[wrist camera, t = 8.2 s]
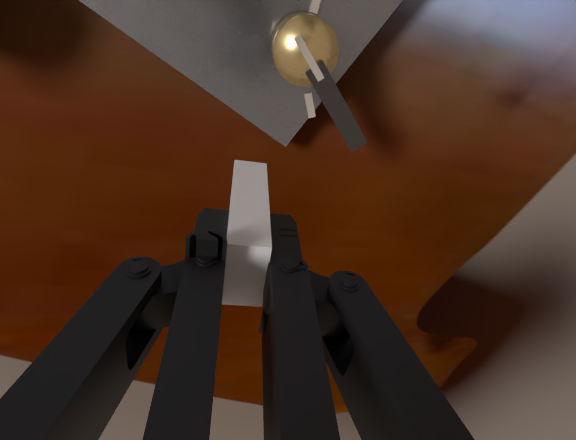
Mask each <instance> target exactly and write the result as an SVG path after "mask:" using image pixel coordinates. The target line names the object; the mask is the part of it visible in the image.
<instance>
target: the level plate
mask: <svg viewBox="0 0 576 440" xmlns="http://www.w3.org/2000/svg"><path fill="white" fill-rule="evenodd" d="M79 1H80V2H82V3H83V4H85V5H86V6H87V7H89V8H90V9H92V10H93V11H95V12H96V13H97V14H99V15H100V16H102V17H103V18H104V19H106V20H107V21H109V22H110V23H111V24H113V25H114V26H116V27H117V28H119V29H120V30H121V31H123V32H124V33H126V34H127V35H128V36H130V37H131V38H133V39H134V40H135V41H137V42H138V43H140V44H141V45H143V46H144V47H145V48H147V49H148V50H150V51H151V52H152V53H154V54H155V55H157V56H158V57H159V58H161V59H162V60H164V61H165V62H167V63H168V64H169V65H171V66H172V67H174V68H175V69H176V70H178V71H179V72H181V73H182V74H183V75H185V76H186V77H188V78H189V79H191V80H192V81H193V82H195V83H196V84H198V85H199V86H200V87H202V88H203V89H205V90H206V91H208V92H209V93H210V94H212V95H213V96H215V97H216V98H217V99H219V100H220V101H222V102H223V103H224V104H226V105H227V106H229V107H230V108H232V109H233V110H234V111H236V112H237V113H239V114H240V115H241V116H243V117H244V118H246V119H247V120H248V121H250V122H251V123H253V124H254V125H256V126H257V127H258V128H260V129H261V130H263V131H264V132H265V133H267V134H268V135H270V136H271V137H272V138H274V139H275V140H277V141H278V142H280V143H281V144H282V145H284V146H285V147H286V146H287V144H288V143H289V142H290V141H291V139H292V138H293V137H294V136H295V134H296V133H297V132H298V131H299V129H300V128H301V127H302V126H303V124H304V123H305V122H306V121H307V119H308V118H313V117H316V115H315V109H316V108H317V107H318V106H319V104H320V103H321V102H322V101H321V99H320V97H319V96H318V94H317V92H316V90H315V89H314V87H313V86H311V87H299V86H295V85H293V84H291V83H289V82H287V81H286V80H285V79H284V78H283V77H282V76H281V75H280V73H279V72H278V70H277V68H276V66H275V62H274V58H273V54H272V49H271V42H272V36H273V33H274V30H275V29H276V27H277V25H278V24H279V23H280V22H281V20H283V19H284V18H285V17H286V16H288V15H290V14H292V13H296V12H308V13H311V14H313V15H315V16H317V17H319V18H320V19H322V20H324V21H325V22H326V23H327V24H329V25H330V27H331V28H332V29H333V31H334V32H335V35H336V37H337V40H338V45H339V55H338V60H337V63H336V66H335V68H334V70H333V71H332V73H331V74H330V75H331V76H332V78H333V80H334V82H335V84H336V83H337V82H338V81H339V79H340V78H341V77H342V76H343V74H344V73H345V72H346V71H347V69H348V68H349V67H350V66H351V64H352V63H353V62H354V61H355V59H356V58H357V57H358V56H359V54H360V53H361V52H362V51H363V49H364V48H365V47H366V46H367V44H368V43H369V42H370V41H371V39H372V38H373V37H374V36H375V34H376V33H377V32H378V31H379V29H380V28H381V27H382V26H383V24H384V23H385V22H386V21H387V19H388V18H389V17H390V16H391V14H392V13H393V12H394V11H395V9H396V8H397V7H398V6H399V4H400V3H401V2H402V1H403V0H79Z"/></svg>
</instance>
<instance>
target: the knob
mask: <svg viewBox="0 0 576 440" xmlns="http://www.w3.org/2000/svg"><path fill="white" fill-rule="evenodd" d="M271 49H272V54H273V58H274V62H275V66H276V68H277V70H278V72H279V73H280V75H281V76H282V77H283V78H284V79H285V80H286V81H287V82H289V83H291V84H293V85H295V86H299V87H311V86H313V87H314V89H315V90H316V92H317V94H318V96H319V97H320V99H321V101H322V102H323V104H324V106H325V108H326V109H327V111H328V113H329V114H330V116H331V118H332V120H333V121H334V123H335V125H336V126H337V128H338V130H339V131H340V133H341V135H342V137H343V138H344V140H345V142H346V143H347V145H348V147H349V149H350V150H351V152H352V151H354V150H356V149H357V148H359V147H361V146H362V145H364V144H366V143H367V140H366V139H365V137H364V135H363V133H362V131H361V129H360V128H359V126H358V124H357V122H356V120H355V118H354V117H353V115H352V113H351V111H350V109H349V107H348V106H347V104H346V102H345V100H344V98H343V97H342V95H341V93H340V91H339V89H338V87H337V86H336V84H335V82H334V80H333V78H332V76H331V75H330V74H331V73H332V71H333V70H334V68H335V66H336V63H337V60H338V55H339V45H338V40H337V37H336V35H335V32H334V31H333V29H332V28H331V27H330V25H329V24H327V23H326V22H325V21H324V20H322V19H320V18H319V17H317V16H315V15H313V14H311V13H308V12H296V13H292V14H290V15H288V16H286V17H285V18H284V19H283V20H281V22H280V23H279V24H278V25H277V27H276V29H275V30H274V33H273V36H272V42H271Z"/></svg>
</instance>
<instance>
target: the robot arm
mask: <svg viewBox="0 0 576 440" xmlns="http://www.w3.org/2000/svg"><path fill="white" fill-rule="evenodd" d="M262 303H263V312H262V318H261V323H260V329H259V332H261V333H262V370H263V421H264V440H340V436H339V431H338V426H337V420H336V414H335V409H334V403H333V398H332V392H331V387H330V382H329V376H328V371H327V365H328V367H329V369H330V371H331V373H332V376H333V378H334V380H335V382H336V384H337V387H338V389H339V391H340V393H341V396H342V398H343V400H344V402H345V404H346V407H347V409H348V411H349V413H350V415H351V417H352V420H353V422H354V424H355V426H356V428H357V431H358V433H359V435H360V437H361V439H362V440H474V439H473V437H472V435H471V434H470V433H469V431H468V430H467V428H466V427H465V425H464V424H463V422H462V421H461V419H460V418H459V417H458V415H457V414H456V412H455V411H454V409H453V408H452V406H451V405H450V403H449V402H448V401H447V399H446V398H445V396H444V395H443V393H442V392H441V390H440V389H439V387H438V386H437V384H436V383H435V382H434V380H433V379H432V377H431V376H430V374H429V373H428V371H427V370H426V368H425V367H424V365H423V364H422V363H421V361H420V360H419V358H418V357H417V355H416V354H415V352H414V351H413V349H412V348H411V347H410V345H409V344H408V342H407V341H406V339H405V338H404V336H403V335H402V333H401V332H400V331H399V329H398V328H397V326H396V325H395V323H394V322H393V320H392V319H391V317H390V316H389V315H388V313H387V312H386V310H385V309H384V307H383V306H382V304H381V303H380V301H379V300H378V298H377V297H376V296H375V294H374V293H373V291H372V290H371V288H370V287H369V285H368V284H367V282H366V281H365V280H364V279H363V278H362V277H361V276H359V275H357V274H355V273H353V272H349V271H338V272H335V273H334V274H333V275H331V278H328V277H325V276H321V275H319V274H316V273H314V272H312V271H311V270H309V267H308V265H307V263H306V262H305V261H304V260H303V259H302V254H301V249H300V243H299V238H298V232H297V225H296V222H295V221H294V219H293V218H292V217H291V216H290V215H282V214H272V213H270V210H269V195H268V180H267V165H266V164H265V163H257V162H248V161H240V160H235V161H234V171H233V181H232V191H231V200H230V210H222V209H211V208H205V209H203V210H202V211H201V212H200V213H199V214H198V218H197V223H196V227H195V230H194V231H192V232H191V233H189V234H188V236H187V237H186V258H185V259H184V260H182V261H181V262H178V263H176V264H172V265H167V266H160V264H159V263H158V262H157V261H156V260H154V259H152V258H149V257H133V258H130V259H127V260H125V261H123V262H122V263H121V264H119V265H118V266H117V267H116V269H115V270H114V271H113V272H112V273H111V274H110V275H109V276H108V278H107V279H106V280H105V281H104V282H103V283H102V284H101V286H100V287H99V288H98V289H97V290H96V291H95V292H94V293H93V295H92V296H91V297H90V298H89V299H88V300H87V301H86V303H85V304H84V305H83V306H82V307H81V308H80V309H79V310H78V312H77V313H76V314H75V315H74V316H73V317H72V318H71V319H70V321H69V322H68V323H67V324H66V325H65V326H64V327H63V329H62V330H61V331H60V332H59V333H58V334H57V335H56V336H55V338H54V339H53V340H52V341H51V342H50V343H49V344H48V345H47V347H46V348H45V349H44V350H43V351H42V352H41V353H40V355H39V356H38V357H37V358H36V359H35V360H34V361H33V362H32V364H31V365H30V366H29V367H28V368H27V369H26V371H25V372H24V373H23V374H22V375H21V376H20V377H19V378H18V379H17V381H16V382H15V383H14V384H13V385H12V386H11V387H10V388H9V390H8V391H7V392H6V393H5V394H4V395H3V397H2V398H1V399H0V440H98V439H99V437H100V436H101V434H102V432H103V431H104V429H105V427H106V425H107V424H108V422H109V420H110V419H111V417H112V415H113V413H114V412H115V410H116V408H117V407H118V405H119V403H120V401H121V400H122V398H123V396H124V394H125V393H126V391H127V389H128V388H129V386H130V384H131V383H132V381H133V379H134V377H135V376H136V374H137V372H138V371H139V369H140V367H141V365H142V364H143V362H144V360H145V358H146V357H147V355H148V353H149V352H150V350H151V348H152V346H153V345H154V343H155V341H156V340H157V338H158V336H159V334H160V333H161V330H162V328H164V327H168V326H169V330H168V334H167V339H166V343H165V347H164V351H163V356H162V360H161V364H160V368H159V373H158V377H157V381H156V385H155V389H154V394H153V398H152V402H151V407H150V411H149V415H148V419H147V423H146V428H145V432H144V436H143V440H209V435H210V424H211V413H212V402H213V392H214V382H215V371H216V360H217V350H218V339H219V328H220V317H221V307H222V304H224V305H242V306H259V307H262ZM326 362H327V365H326Z"/></svg>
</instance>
